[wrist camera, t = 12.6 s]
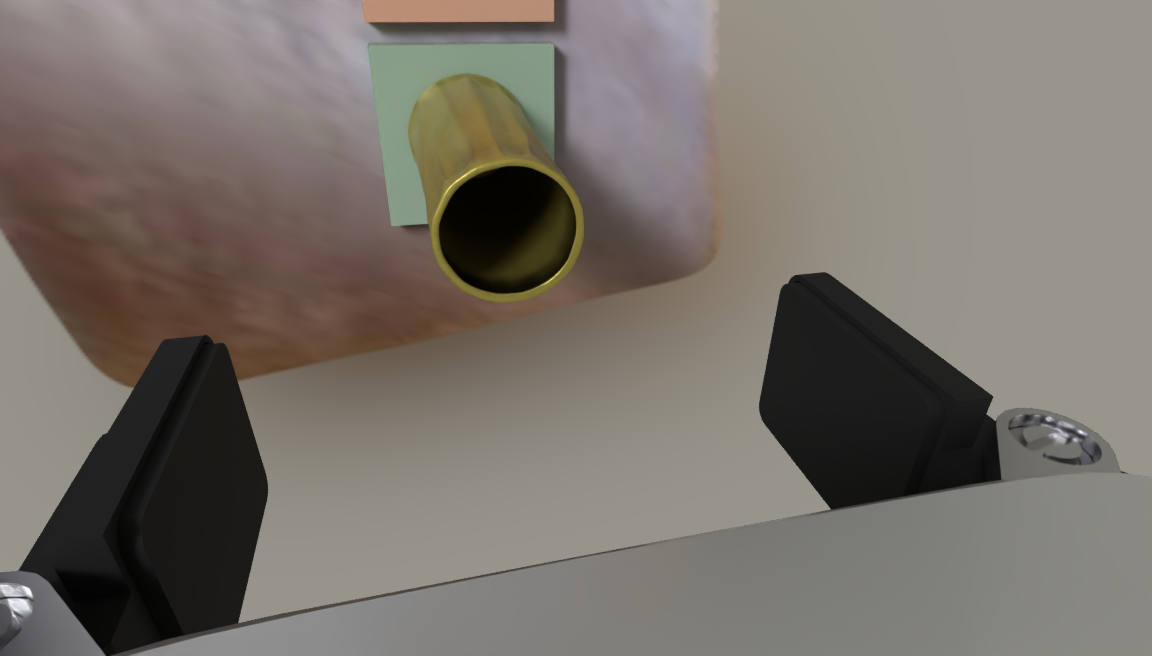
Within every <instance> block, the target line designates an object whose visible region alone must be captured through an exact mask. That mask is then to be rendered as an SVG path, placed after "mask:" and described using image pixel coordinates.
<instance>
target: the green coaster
mask: <svg viewBox="0 0 1152 656" xmlns="http://www.w3.org/2000/svg"><path fill="white" fill-rule="evenodd" d="M368 52H369V60H370V67H371V75H372V82H373V90H374V97H375V105H376V112H377V120H378V128H379V135H380V143H381V150H382V158H383V165H384V173H385V180H386V188H387V195H388V203H389V211H390V218H391V226H401V225H416V224H428V221H427V212H426V200H425V195H424V192H423V188H422V182H421V178H420V175H419V171H418V167H417V164H416V163H415V161H414V158H413V155H412V151H411V147H410V143H409V137H408V124H409V120H410V116H411V113H412V110H413V107H414V105H415V103H416V101H417V100H418V98H419V97H420V96H421V94H422V93H423V92H424V91H425V90H426V89H427V88H428V87H430V86H431V85H432V84H434V83H435V82H437V81H439V80H441V79H444V78H446V77H450V76H453V75H457V74H465V73H469V74H476V75H481V76H484V77H488V78H490V79H492V80H494V81H496V82H498V83H499V84H501V85H502V86H504V87H505V88H506V89H507V90H508V91H509V92H510V93H511V94H512V95H513V96H514V98H515V99H516V100H517V102H518V103H519V104H520V106H521V108H522V111H523V113H524V116H525V118H526V120H527V121H528V123H529V124H530V127H531V128H532V130H533V131H534V132H535V134H536V135H537V137H538V139H539V140H540V142H541V143H542V145H543V147H544V148H545V150H546V151H547V153H548V154H549V155H550V157H551V158H552V159H553V161H554V43H552V42H550V41H548V42H446V43H368Z"/></svg>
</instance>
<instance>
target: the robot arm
mask: <svg viewBox="0 0 1152 656" xmlns="http://www.w3.org/2000/svg"><path fill="white" fill-rule="evenodd" d="M992 399H993V396H992V395H990V394H989V393H988V392H987V391H985V390H984V389H983V388H981V387H980V386H978V385H977V384H976V383H975V382H973V381H972V380H970V379H969V378H968V377H967V376H965V375H964V374H962V373H961V372H960V371H958V370H957V369H956V368H954V367H953V366H952V365H950V364H949V363H948V362H946V361H945V360H944V359H942V358H941V357H940V356H938V355H937V354H936V353H934V352H933V351H932V350H930V349H929V348H928V347H926V346H925V345H924V344H922V343H921V342H920V341H918V340H917V339H916V338H914V337H913V336H911V335H910V334H909V333H907V332H906V331H905V330H903V329H902V328H901V327H899V326H898V325H897V324H895V323H894V322H892V321H891V320H890V319H889V318H887V317H886V316H885V315H883V314H882V313H881V312H879V311H878V310H876V309H875V308H874V307H872V306H871V305H870V304H869V303H867V302H866V301H865V300H863V299H862V298H860V297H859V296H858V295H856V294H855V293H854V292H853V291H851V290H850V289H848V288H847V287H846V286H844V285H843V284H842V283H840V282H839V281H838V280H836V279H835V278H834V277H832V276H831V275H829V274H828V273H825V272H822V273H812V274H803V275H795V276H793V277H792V278H791V279H790V281H789V283H788V284H785V285H784V286H783V287H782V289H781V291H780V295H779V301H778V306H777V312H776V317H775V322H774V327H773V333H772V338H771V343H770V349H769V354H768V360H767V365H766V370H765V375H764V381H763V386H762V391H761V397H760V402H759V411H760V415H761V418H762V421H763V422H764V424H765V425H766V426H767V428H768V429H769V430H770V432H771V433H772V434H773V435H774V436H775V438H776V439H777V441H778V442H779V443H780V444H781V446H782V447H783V448H784V450H785V451H786V452H787V453H788V455H789V456H790V457H791V459H792V460H793V461H794V462H795V463H796V465H797V466H798V467H799V469H800V470H801V471H802V473H803V474H804V475H805V476H806V478H807V479H808V480H809V481H810V483H811V484H812V485H813V487H814V488H815V489H816V491H817V492H818V493H819V494H820V496H821V497H822V498H823V500H824V501H825V502H826V503H827V504H828V506H829V507H830V508H831V510H827V511H822V512H816V513H811V514H805V515H799V516H794V517H788V518H783V519H777V520H772V521H766V522H761V523H755V524H751V525H744V526H739V527H734V528H729V529H723V530H718V531H712V532H707V533H701V534H696V535H692V536H686V537H680V538H675V539H669V540H664V541H659V542H653V543H648V544H643V545H637V546H633V547H627V548H621V549H616V550H611V551H606V552H601V553H595V554H589V555H584V556H579V557H573V558H568V559H563V560H558V561H552V562H548V563H542V564H537V565H531V566H526V567H521V568H516V569H511V570H506V571H500V572H495V573H490V574H485V575H480V576H475V577H469V578H464V579H459V580H454V581H449V582H444V583H438V584H433V585H428V586H423V587H418V588H413V589H407V590H402V591H397V592H392V593H386V594H381V595H376V596H371V597H366V598H361V599H355V600H350V601H345V602H340V603H335V604H329V605H324V606H319V607H314V608H309V609H303V610H298V611H293V612H288V613H282V614H278V615H274V616H269V617H264V618H260V619H255V620H251V621H247V622H242V623H238V621H239V617H240V613H241V608H242V604H243V600H244V595H245V591H246V587H247V583H248V578H249V574H250V570H251V566H252V561H253V557H254V553H255V548H256V544H257V540H258V536H259V531H260V527H261V523H262V519H263V515H264V510H265V506H266V502H267V496H268V483H267V477H266V473H265V469H264V466H263V463H262V460H261V456H260V453H259V450H258V447H257V443H256V440H255V437H254V433H253V430H252V427H251V424H250V420H249V417H248V414H247V411H246V407H245V404H244V401H243V398H242V394H241V391H240V388H239V384H238V381H237V378H236V375H235V371H234V368H233V365H232V361H231V358H230V355H229V352H228V349H227V347H226V346H225V344H223V343H217V344H214V343H213V341H212V340H211V338H210V337H209V336H207V335H204V336H194V337H184V338H174V339H166V340H164V341H163V342H162V343H161V344H160V346H159V348H158V349H157V351H156V353H155V354H154V356H153V358H152V359H151V361H150V363H149V364H148V366H147V368H146V369H145V371H144V373H143V374H142V376H141V378H140V379H139V381H138V383H137V384H136V386H135V388H134V389H133V391H132V393H131V395H130V396H129V398H128V399H127V401H126V403H125V405H124V406H123V408H122V410H121V411H120V413H119V415H118V416H117V418H116V420H115V421H114V423H113V425H112V426H111V428H110V430H109V431H108V433H106V434H104V435H102V437H101V438H100V439H99V440H98V441H97V443H96V444H95V446H94V447H93V449H92V451H91V452H90V454H89V455H88V457H87V459H86V460H85V462H84V464H83V465H82V467H81V469H80V470H79V472H78V474H77V475H76V477H75V478H74V480H73V482H72V483H71V485H70V487H69V488H68V490H67V492H66V493H65V495H64V497H63V498H62V500H61V502H60V503H59V505H58V506H57V508H56V510H55V511H54V513H53V515H52V516H51V518H50V520H49V521H48V523H47V524H46V526H45V528H44V529H43V532H42V533H41V535H40V536H39V538H38V539H37V541H36V543H35V544H34V546H33V548H32V549H31V551H30V553H29V554H28V556H27V557H26V559H25V561H24V562H23V564H22V566H21V567H20V569H19V570H18V571H11V572H1V573H0V656H1152V477H1149V476H1142V475H1134V474H1128V473H1125V472H1122V471H1120V468H1119V465H1118V462H1117V459H1116V455H1115V453H1114V451H1113V450H1112V448H1111V447H1110V445H1109V444H1108V443H1107V442H1106V441H1105V440H1104V439H1103V438H1102V437H1101V436H1100V435H1099V434H1098V433H1096V432H1094V431H1093V430H1091V429H1090V428H1088V427H1086V426H1085V425H1083V424H1081V423H1079V422H1077V421H1075V420H1072V419H1070V418H1068V417H1066V416H1063V415H1059V414H1056V413H1052V412H1049V411H1045V410H1039V409H1033V408H1015V409H1011V410H1007V411H1004V412H1003V413H1001V414H1000V415H999V416H998V417H997V420H996V421H994V420H993V419H992V418H991V417H989V416H988V415H987V414H986V413H987V411H988V408H989V406H990V403H991V401H992Z"/></svg>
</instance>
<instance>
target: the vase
mask: <svg viewBox="0 0 1152 656" xmlns="http://www.w3.org/2000/svg"><path fill="white" fill-rule="evenodd" d="M408 137H409V143H410V147H411V151H412V155H413V158H414V161H415V163H416V164H417V167H418V171H419V175H420V178H421V182H422V188H423V192H424V195H425V200H426V212H427V221H428V225H429V229H430V239H431V245H432V250H433V253H434V256H435V259H436V261H437V263H438V265H439V267H440V268H441V269H442V271H443V272H444V273H445V274H446V275H447V277H448V278H449V279H450V280H451V281H452V282H453V283H454V284H455V285H456V286H457V287H458V288H459V289H461V290H462V291H464V292H466V293H468V294H470V295H472V296H475V297H478V298H480V299H483V300H487V301H491V302H503V303H512V302H518V301H524V300H527V299H531V298H534V297H536V296H539V295H541V294H543V293H545V292H546V291H548V290H550V289H551V288H553V287H554V286H555V285H557V284H558V283H559V282H560V281H561V280H562V279H563V278H564V277H565V276H566V275H567V274H568V273H569V272H570V271H571V270H572V268H573V266H574V265H575V263H576V261H577V258H578V256H579V253H580V251H581V248H582V245H583V240H584V214H583V208H582V205H581V202H580V200H579V198H578V196H577V194H576V192H575V191H574V189H573V187H572V185H571V184H570V182H569V181H568V180H567V178H566V177H565V175H564V174H563V172H562V171H561V170H560V168H559V167H558V166H557V165H556V163H555V162H554V161H553V159H552V158H551V157H550V155H549V154H548V153H547V151H546V150H545V148H544V147H543V145H542V143H541V142H540V140H539V139H538V137H537V135H536V134H535V132H534V131H533V130H532V128H531V127H530V124H529V123H528V121H527V120H526V118H525V116H524V113H523V111H522V108H521V106H520V104H519V103H518V102H517V100H516V99H515V98H514V96H513V95H512V94H511V93H510V92H509V91H508V90H507V89H506V88H505V87H504V86H502V85H501V84H499V83H498V82H496V81H494V80H492V79H490V78H488V77H484V76H481V75H476V74H469V73H465V74H457V75H453V76H450V77H446V78H444V79H441V80H439V81H437V82H435V83H434V84H432V85H431V86H430V87H428V88H427V89H426V90H425V91H424V92H423V93H422V94H421V96H420V97H419V98H418V100H417V101H416V103H415V105H414V107H413V110H412V113H411V116H410V120H409V124H408Z"/></svg>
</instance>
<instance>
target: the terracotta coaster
mask: <svg viewBox="0 0 1152 656" xmlns="http://www.w3.org/2000/svg"><path fill="white" fill-rule="evenodd" d="M362 7H363V14H364V22H554V0H362Z"/></svg>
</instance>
